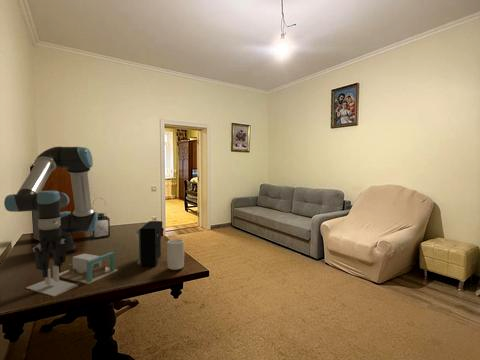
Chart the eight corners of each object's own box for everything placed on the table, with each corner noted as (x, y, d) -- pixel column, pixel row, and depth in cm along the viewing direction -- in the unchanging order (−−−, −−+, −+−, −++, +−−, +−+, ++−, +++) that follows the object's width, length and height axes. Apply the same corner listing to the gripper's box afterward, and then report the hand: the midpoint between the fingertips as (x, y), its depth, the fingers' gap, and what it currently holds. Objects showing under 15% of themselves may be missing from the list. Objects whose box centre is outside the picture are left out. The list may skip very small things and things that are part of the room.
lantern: (110, 236, 189) (109, 198, 188) (92, 238, 183) (91, 199, 181) (107, 233, 198) (106, 196, 197) (90, 235, 191) (89, 197, 190)
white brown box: (71, 271, 124) (71, 256, 124) (83, 267, 130) (83, 253, 130) (91, 275, 119) (91, 260, 119) (102, 271, 125) (102, 256, 125)
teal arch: (87, 280, 115) (86, 261, 115) (111, 269, 127) (111, 251, 127) (90, 281, 114) (89, 261, 114) (114, 269, 127) (114, 252, 126)
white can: (175, 273, 125) (175, 244, 124) (163, 269, 129) (163, 241, 128) (187, 267, 132) (187, 240, 131) (176, 264, 136) (175, 237, 135)
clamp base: (54, 276, 121) (54, 267, 121) (86, 264, 136) (86, 256, 136) (87, 284, 113) (87, 275, 113) (117, 270, 128) (117, 262, 128)
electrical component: (146, 255, 150) (145, 221, 148) (164, 254, 151) (163, 220, 149) (136, 267, 132) (135, 228, 131) (157, 266, 133) (156, 228, 132)
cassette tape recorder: (52, 239, 180) (50, 204, 178) (41, 241, 175) (40, 205, 173) (43, 236, 187) (42, 202, 186) (33, 238, 182) (31, 203, 181)
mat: (25, 289, 109) (25, 287, 109) (51, 279, 118) (50, 277, 118) (54, 297, 102) (53, 295, 102) (78, 286, 111) (78, 284, 111)
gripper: (34, 233, 100) (37, 292, 101) (74, 224, 114) (76, 276, 116) (22, 231, 102) (25, 289, 104) (62, 223, 117) (64, 273, 118)
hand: (52, 282), depth 110 cm, fingers open, 3 cm apart
